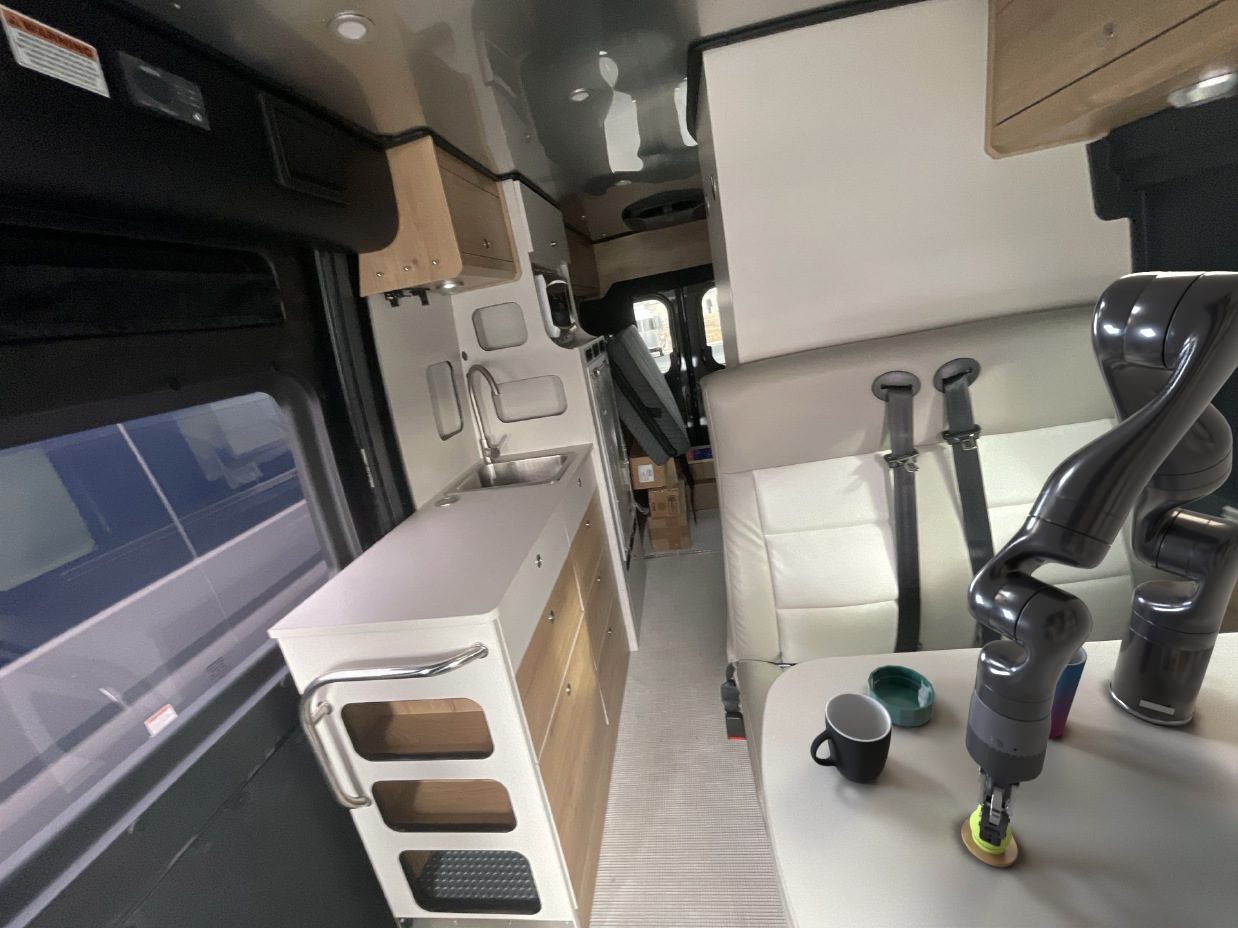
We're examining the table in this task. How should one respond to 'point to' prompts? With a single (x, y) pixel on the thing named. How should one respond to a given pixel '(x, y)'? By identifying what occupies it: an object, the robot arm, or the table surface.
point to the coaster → (992, 859)
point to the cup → (1066, 692)
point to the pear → (982, 844)
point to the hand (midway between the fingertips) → (991, 824)
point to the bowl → (902, 694)
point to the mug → (855, 736)
